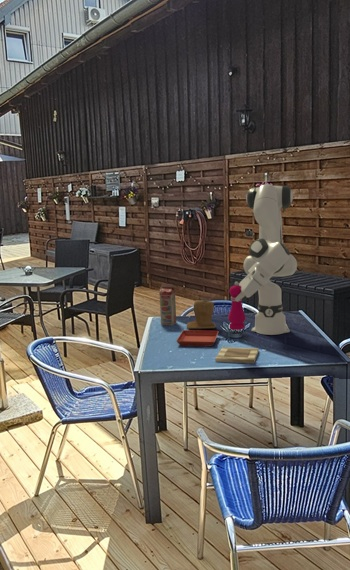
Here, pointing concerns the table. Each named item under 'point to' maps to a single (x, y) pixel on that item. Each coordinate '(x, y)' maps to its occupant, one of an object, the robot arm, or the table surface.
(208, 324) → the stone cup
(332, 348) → the table surface
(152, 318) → the table surface
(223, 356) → the birch board
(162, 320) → the juice carton
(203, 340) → the plant saucer
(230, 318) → the pepper mill
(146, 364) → the table surface
